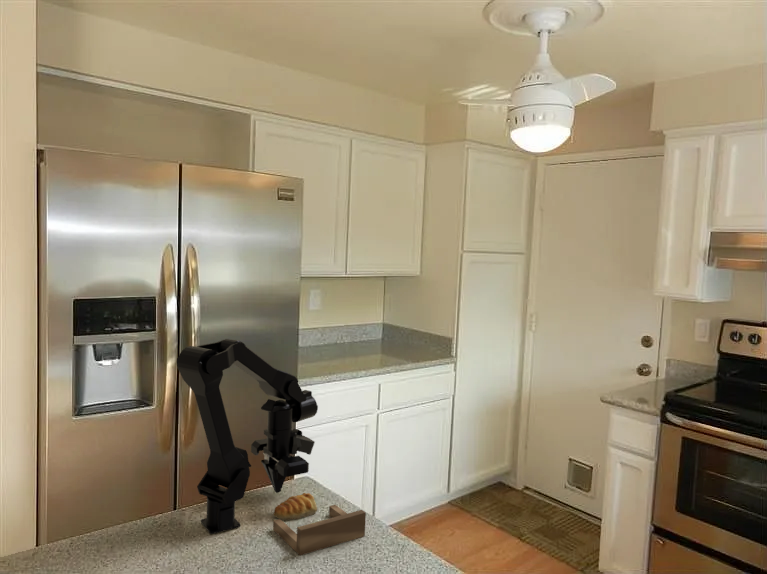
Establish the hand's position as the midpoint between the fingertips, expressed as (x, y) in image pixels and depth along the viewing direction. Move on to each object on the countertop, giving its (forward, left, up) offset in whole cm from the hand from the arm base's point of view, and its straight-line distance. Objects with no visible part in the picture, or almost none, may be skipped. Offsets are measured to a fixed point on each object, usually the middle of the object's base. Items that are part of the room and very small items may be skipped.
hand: (277, 491), depth 137 cm
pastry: (+9, 0, -2) cm, 9 cm away
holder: (+19, 0, -2) cm, 19 cm away
